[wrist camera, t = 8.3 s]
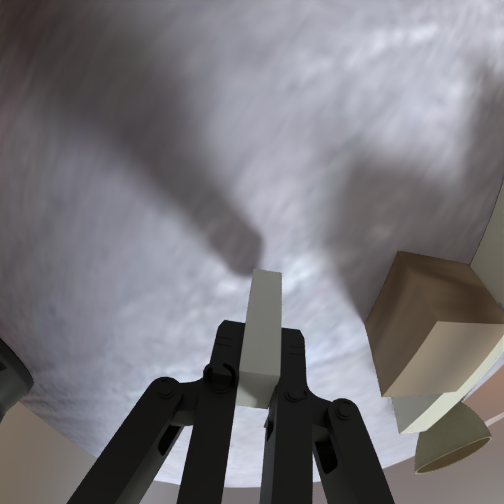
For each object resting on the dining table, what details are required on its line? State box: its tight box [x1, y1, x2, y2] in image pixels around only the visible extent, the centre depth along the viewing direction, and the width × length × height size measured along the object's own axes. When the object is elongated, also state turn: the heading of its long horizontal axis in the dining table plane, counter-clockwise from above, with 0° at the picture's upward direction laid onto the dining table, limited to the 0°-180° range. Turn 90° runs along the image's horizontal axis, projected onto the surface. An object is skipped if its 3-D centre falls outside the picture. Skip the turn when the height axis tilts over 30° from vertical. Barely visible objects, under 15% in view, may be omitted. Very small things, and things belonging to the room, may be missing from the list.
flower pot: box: [415, 401, 492, 474], centre depth 22 cm, size 10×10×7 cm
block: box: [365, 251, 504, 397], centre depth 14 cm, size 6×6×6 cm
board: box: [392, 180, 504, 434], centre depth 15 cm, size 3×22×5 cm, turn 173°
